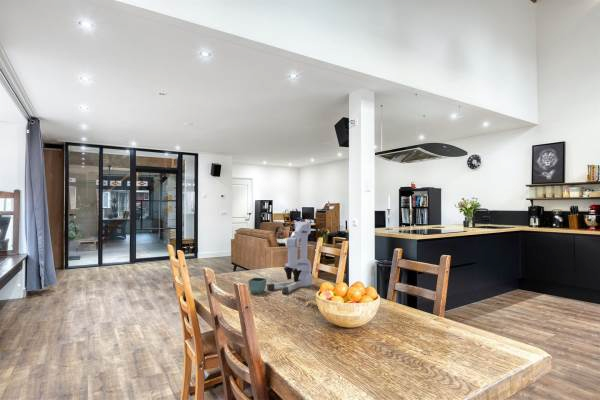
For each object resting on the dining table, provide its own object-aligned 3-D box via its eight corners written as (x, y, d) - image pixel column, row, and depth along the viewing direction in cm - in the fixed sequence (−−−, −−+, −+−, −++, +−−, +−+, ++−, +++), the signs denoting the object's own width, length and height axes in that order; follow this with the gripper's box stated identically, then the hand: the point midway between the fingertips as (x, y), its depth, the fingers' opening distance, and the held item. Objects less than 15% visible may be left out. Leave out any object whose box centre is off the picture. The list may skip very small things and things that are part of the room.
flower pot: (247, 295, 205) (247, 280, 205) (253, 291, 214) (254, 277, 214) (261, 296, 203) (261, 281, 203) (266, 292, 211) (266, 278, 211)
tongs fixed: (298, 285, 226) (298, 278, 226) (302, 286, 222) (302, 279, 222) (267, 290, 212) (267, 282, 212) (270, 291, 208) (270, 284, 208)
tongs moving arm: (294, 287, 220) (294, 281, 220) (297, 287, 219) (297, 282, 219) (281, 293, 203) (282, 287, 203) (285, 294, 202) (285, 288, 202)
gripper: (280, 256, 205) (280, 279, 204) (293, 259, 193) (293, 283, 192) (290, 255, 209) (290, 277, 208) (303, 258, 197) (303, 282, 196)
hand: (292, 280), depth 201 cm, fingers open, 7 cm apart
